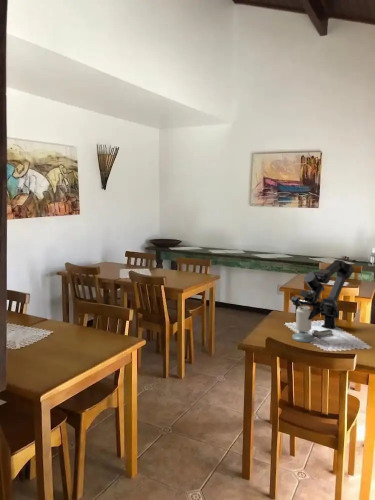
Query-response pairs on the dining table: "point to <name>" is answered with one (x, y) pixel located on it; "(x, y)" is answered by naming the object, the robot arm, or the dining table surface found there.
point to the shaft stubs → (320, 333)
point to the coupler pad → (303, 337)
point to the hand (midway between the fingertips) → (302, 317)
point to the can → (303, 318)
